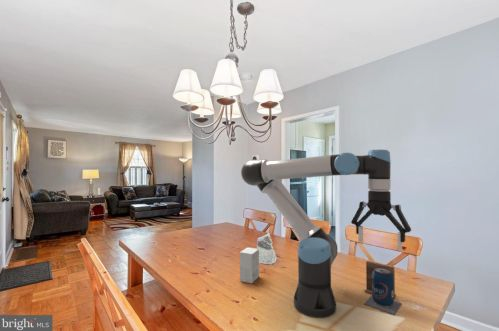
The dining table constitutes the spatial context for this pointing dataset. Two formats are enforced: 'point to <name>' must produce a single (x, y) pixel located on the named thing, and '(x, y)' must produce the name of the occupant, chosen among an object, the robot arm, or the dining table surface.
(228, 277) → the dining table surface
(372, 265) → the walnut screen
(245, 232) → the dining table surface
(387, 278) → the soda can
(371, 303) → the pad
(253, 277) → the small box
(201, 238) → the dining table surface
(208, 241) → the dining table surface
